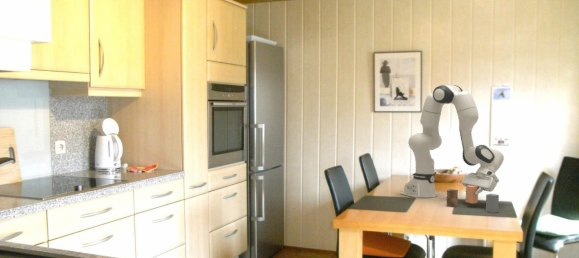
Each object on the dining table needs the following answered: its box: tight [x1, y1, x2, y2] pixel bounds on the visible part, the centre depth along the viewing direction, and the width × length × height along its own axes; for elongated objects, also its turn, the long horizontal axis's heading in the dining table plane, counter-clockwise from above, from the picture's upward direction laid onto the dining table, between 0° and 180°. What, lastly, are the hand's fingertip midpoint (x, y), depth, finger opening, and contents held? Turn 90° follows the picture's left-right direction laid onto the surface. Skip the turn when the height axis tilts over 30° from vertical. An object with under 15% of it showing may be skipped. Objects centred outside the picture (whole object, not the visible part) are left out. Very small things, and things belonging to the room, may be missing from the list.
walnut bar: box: [446, 188, 459, 208], centre depth 283 cm, size 4×4×9 cm
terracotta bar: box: [465, 185, 479, 204], centre depth 281 cm, size 4×4×9 cm
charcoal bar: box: [485, 193, 500, 214], centre depth 268 cm, size 4×4×9 cm
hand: (471, 193), depth 280 cm, fingers closed on terracotta bar, 4 cm apart
